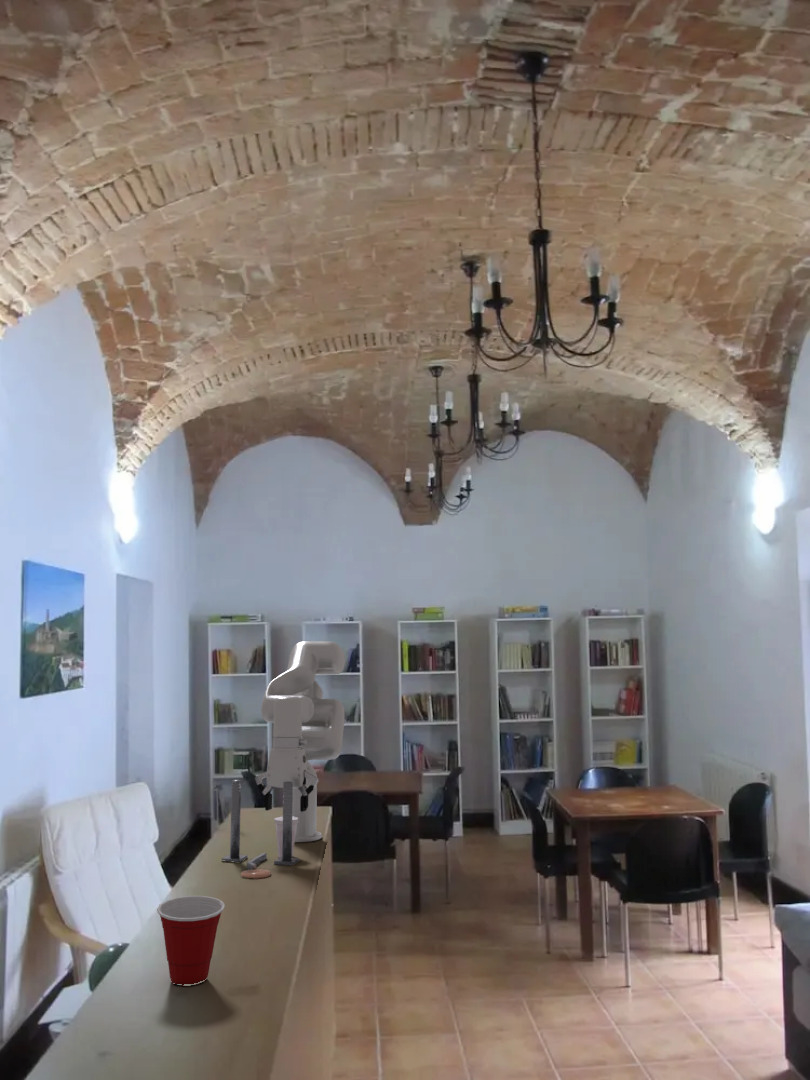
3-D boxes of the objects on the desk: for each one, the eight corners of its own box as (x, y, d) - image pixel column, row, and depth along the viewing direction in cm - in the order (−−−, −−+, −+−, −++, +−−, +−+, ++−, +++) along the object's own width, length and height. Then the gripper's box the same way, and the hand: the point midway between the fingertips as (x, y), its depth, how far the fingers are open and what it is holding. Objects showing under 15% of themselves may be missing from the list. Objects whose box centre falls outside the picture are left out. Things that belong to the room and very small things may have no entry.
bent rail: (263, 858, 239) (263, 852, 239) (275, 859, 238) (275, 853, 238) (242, 871, 225) (242, 864, 225) (255, 871, 224) (255, 865, 225)
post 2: (280, 860, 237) (282, 780, 239) (299, 861, 236) (300, 780, 238) (274, 864, 232) (275, 783, 235) (292, 865, 231) (294, 783, 234)
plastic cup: (155, 996, 143) (157, 915, 145) (153, 973, 153) (156, 898, 155) (226, 989, 146) (228, 910, 148) (220, 967, 156) (221, 893, 158)
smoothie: (300, 854, 244) (301, 799, 246) (295, 859, 238) (295, 803, 240) (276, 853, 245) (277, 799, 247) (270, 858, 239) (271, 803, 240)
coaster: (247, 871, 225) (247, 868, 225) (274, 872, 224) (274, 869, 224) (236, 877, 218) (236, 875, 218) (264, 879, 217) (264, 876, 217)
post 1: (229, 857, 240) (231, 778, 242) (247, 858, 239) (249, 779, 241) (221, 861, 235) (223, 781, 238) (240, 862, 234) (241, 781, 237)
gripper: (322, 743, 246) (321, 809, 244) (261, 742, 250) (260, 807, 248) (314, 745, 239) (313, 813, 237) (251, 744, 243) (249, 811, 240)
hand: (285, 810), depth 242 cm, fingers open, 9 cm apart
